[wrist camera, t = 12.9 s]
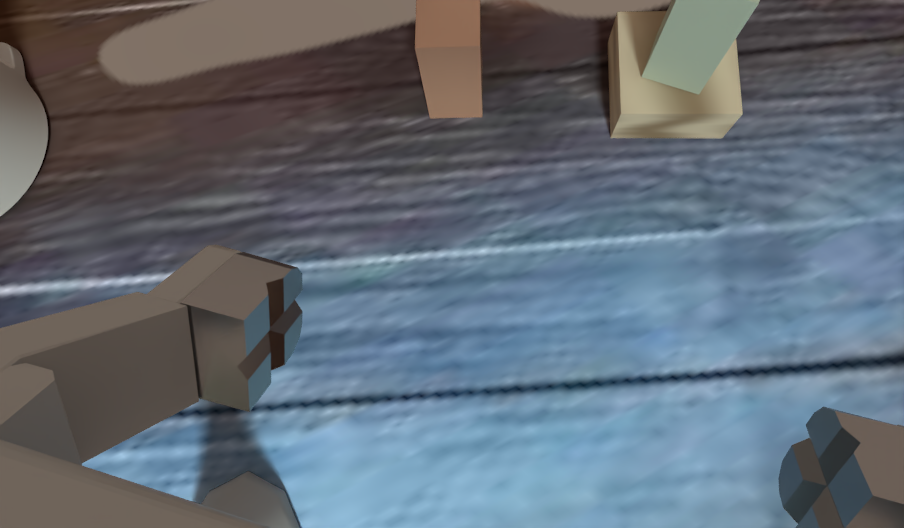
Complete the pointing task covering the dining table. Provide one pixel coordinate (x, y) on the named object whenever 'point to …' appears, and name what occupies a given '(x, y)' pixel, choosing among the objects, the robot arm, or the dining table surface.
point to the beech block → (665, 88)
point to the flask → (253, 501)
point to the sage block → (695, 41)
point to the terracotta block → (450, 56)
